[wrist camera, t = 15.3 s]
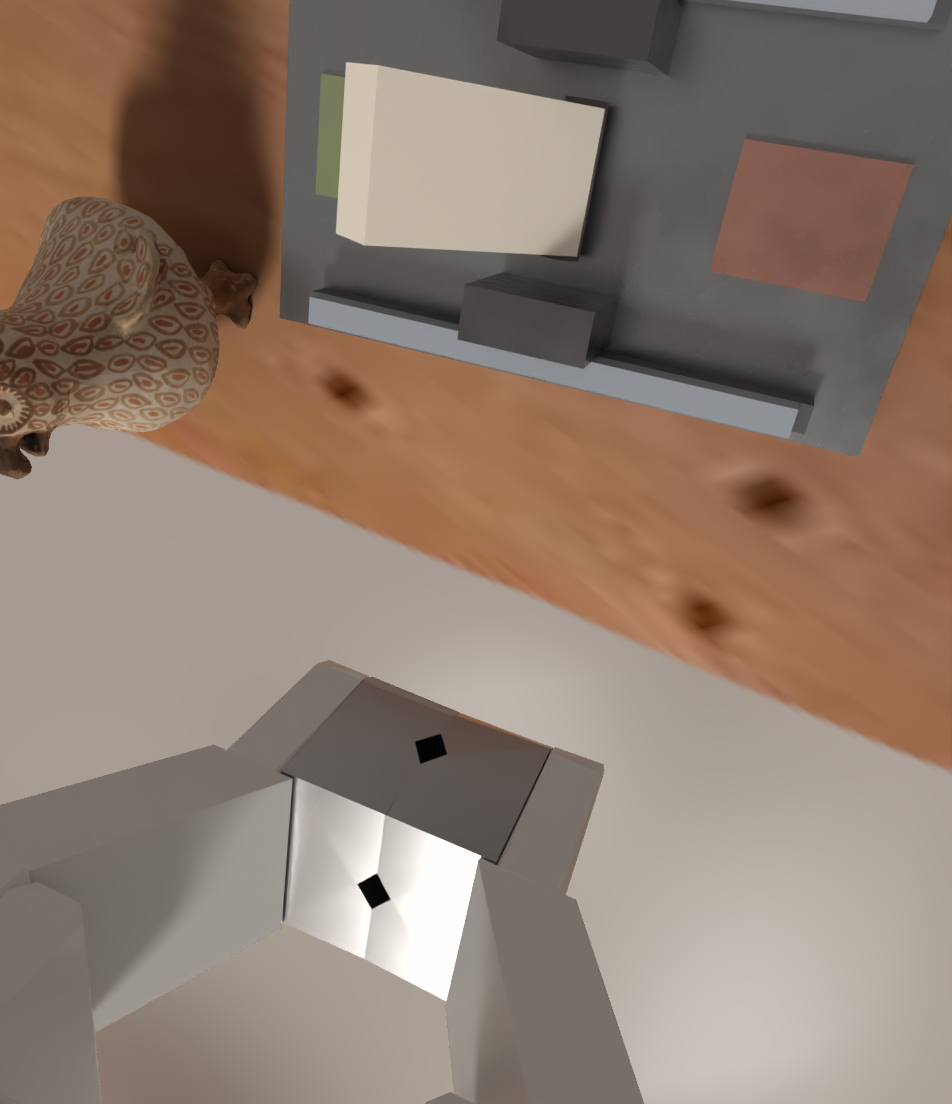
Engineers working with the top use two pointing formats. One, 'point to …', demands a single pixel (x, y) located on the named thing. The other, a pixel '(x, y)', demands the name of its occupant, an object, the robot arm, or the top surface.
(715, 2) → the pair of grey bars
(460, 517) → the top surface
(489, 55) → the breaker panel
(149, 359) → the figurine
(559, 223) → the lever
